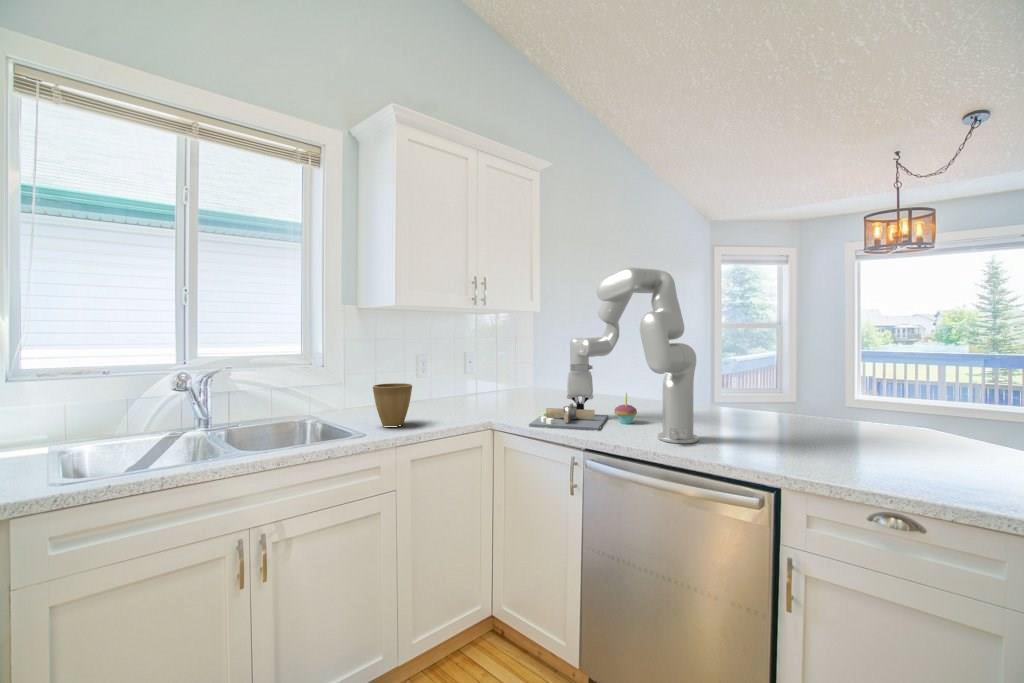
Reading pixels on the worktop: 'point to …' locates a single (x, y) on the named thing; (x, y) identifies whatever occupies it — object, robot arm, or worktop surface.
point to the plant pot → (392, 402)
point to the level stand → (572, 424)
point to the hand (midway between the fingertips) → (580, 413)
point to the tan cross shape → (570, 413)
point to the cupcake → (625, 412)
